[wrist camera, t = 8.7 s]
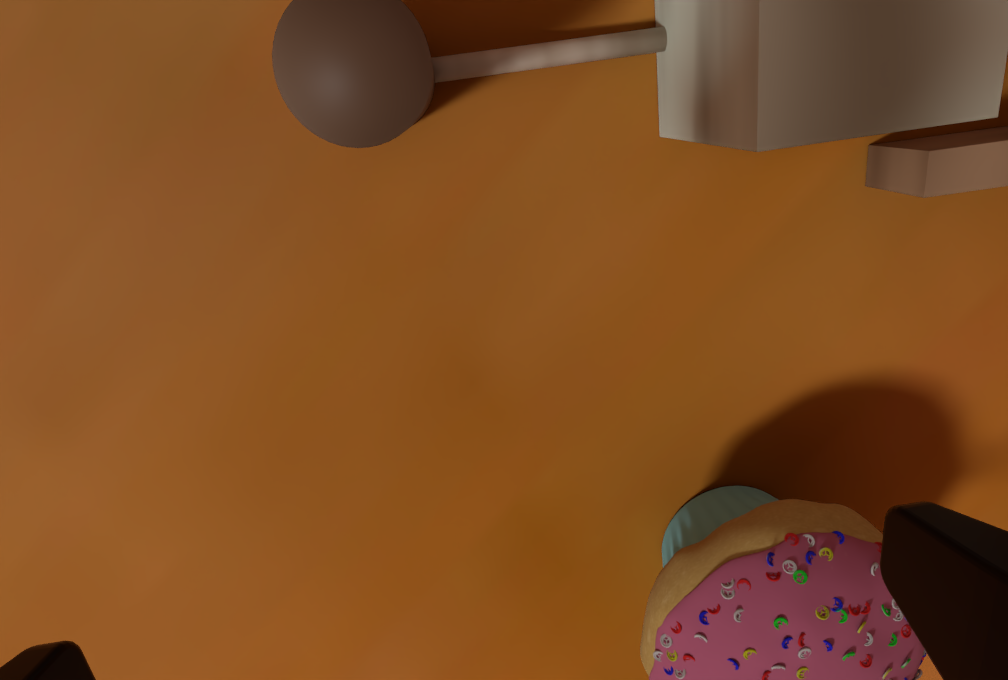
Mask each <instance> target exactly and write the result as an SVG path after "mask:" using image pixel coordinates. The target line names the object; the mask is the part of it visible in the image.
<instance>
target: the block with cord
mask: <svg viewBox="0 0 1008 680" xmlns="http://www.w3.org/2000/svg"><path fill="white" fill-rule="evenodd" d="M655 22H656V28H649V29H642V30H634V31H627V32H619V33H612V34H605V35H597V36H590V37H582V38H575V39H567V40H560V41H553V42H545V43H538V44H530V45H523V46H515V47H508V48H500V49H493V50H486V51H478V52H471V53H463V54H456V55H448V56H441V57H434V58H431V55H430V51H429V46H428V43H427V40H426V37H425V34H424V32H423V30H422V28H421V26H420V24H419V22H418V21H417V19H416V18H415V16H414V15H413V13H412V12H411V11H410V10H409V8H408V7H407V6H406V5H405V4H404V3H403V2H402V1H401V0H293V1H292V2H291V3H290V4H289V6H288V7H287V9H286V10H285V11H284V13H283V15H282V17H281V19H280V21H279V23H278V26H277V29H276V32H275V36H274V41H273V51H272V59H273V69H274V75H275V79H276V82H277V86H278V89H279V91H280V93H281V95H282V98H283V100H284V101H285V103H286V105H287V106H288V108H289V109H290V111H291V112H292V113H293V115H294V116H295V117H296V118H297V119H298V120H299V121H300V122H301V124H302V125H304V126H305V127H306V128H307V129H308V130H310V131H311V132H312V133H314V134H315V135H317V136H319V137H320V138H322V139H324V140H326V141H328V142H331V143H334V144H337V145H341V146H346V147H354V148H364V147H372V146H377V145H380V144H383V143H386V142H388V141H390V140H392V139H394V138H396V137H397V136H399V135H400V134H402V133H403V132H404V131H406V130H407V129H408V128H410V127H411V126H412V125H413V124H415V123H416V122H417V121H418V120H419V119H420V118H421V117H422V116H423V115H424V113H425V112H426V110H427V109H428V107H429V105H430V103H431V100H432V97H433V94H434V88H435V83H437V82H444V81H451V80H459V79H466V78H473V77H481V76H488V75H495V74H503V73H510V72H517V71H525V70H532V69H539V68H547V67H554V66H561V65H569V64H576V63H583V62H591V61H598V60H606V59H613V58H620V57H628V56H635V55H642V54H650V53H657V77H658V104H659V132H660V137H665V138H672V139H678V140H684V141H691V142H697V143H704V144H710V145H716V146H723V147H729V148H735V149H742V150H748V151H754V152H760V151H767V150H774V149H781V148H788V147H795V146H802V145H809V144H815V143H822V142H829V141H836V140H843V139H850V138H857V137H864V136H871V135H878V134H885V133H892V132H899V131H906V130H913V129H920V128H927V127H934V126H941V125H948V124H955V123H962V122H969V121H976V120H983V119H990V118H997V117H998V113H999V106H1000V100H1001V93H1002V86H1003V79H1004V73H1005V66H1006V59H1007V52H1008V0H655Z"/></svg>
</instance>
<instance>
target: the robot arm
mask: <svg viewBox="0 0 1008 680" xmlns="http://www.w3.org/2000/svg"><path fill="white" fill-rule="evenodd" d="M880 571H881V575H882V579H883V581H884V584H885V586H886V588H887V589H888V591H889V593H890V594H891V596H892V598H893V599H894V601H895V602H896V604H897V606H898V607H899V609H900V611H901V612H902V614H903V615H904V617H905V619H906V620H907V622H908V623H909V625H910V627H911V628H912V630H913V632H914V633H915V635H916V636H917V638H918V640H919V641H920V643H921V644H922V646H923V648H924V649H925V651H926V653H927V654H928V656H929V657H930V659H931V661H932V662H933V664H934V665H935V667H936V669H937V670H938V672H939V674H940V675H941V677H942V678H943V680H1008V531H1005V530H1003V529H1000V528H997V527H995V526H992V525H990V524H987V523H984V522H982V521H979V520H976V519H974V518H971V517H969V516H966V515H963V514H961V513H958V512H955V511H953V510H950V509H947V508H945V507H942V506H940V505H937V504H934V503H931V502H915V503H909V504H903V505H897V506H894V507H892V508H890V509H889V510H888V512H887V513H886V516H885V522H884V530H883V539H882V548H881V556H880ZM0 680H96V679H95V677H94V675H93V673H92V671H91V669H90V667H89V665H88V663H87V661H86V659H85V657H84V654H83V652H82V650H81V649H80V647H79V646H78V645H77V644H75V643H74V642H72V641H60V642H54V643H48V644H42V645H36V646H33V647H30V648H28V649H26V650H24V651H23V652H21V653H20V654H18V655H17V656H16V657H14V658H13V659H12V660H10V661H9V662H7V663H6V664H5V665H3V666H2V667H0Z"/></svg>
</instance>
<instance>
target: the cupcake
mask: <svg viewBox="0 0 1008 680" xmlns="http://www.w3.org/2000/svg"><path fill="white" fill-rule="evenodd" d="M882 539H883V534H882V533H881V532H880V531H879V530H878V529H876V528H875V527H874V526H873V525H872V524H871V523H870V522H869V521H867V520H866V519H865V518H864V517H862V516H861V515H860V514H858V513H857V512H856V511H854V510H852V509H851V508H849V507H846V506H844V505H840V504H835V503H818V502H812V501H806V500H800V499H783V500H778V499H776V498H775V497H773V496H771V495H770V494H768V493H766V492H764V491H762V490H759V489H756V488H752V487H747V486H725V487H720V488H716V489H713V490H710V491H707V492H705V493H703V494H701V495H699V496H697V497H695V498H694V499H692V500H691V501H689V502H688V503H687V504H685V505H684V506H683V507H682V508H681V509H680V510H679V511H678V512H677V513H676V515H675V516H674V517H673V519H672V520H671V522H670V523H669V525H668V527H667V529H666V532H665V535H664V538H663V543H662V559H663V569H662V570H661V572H660V573H659V575H658V577H657V579H656V581H655V584H654V586H653V588H652V590H651V592H650V595H649V598H648V602H647V607H646V612H645V617H644V623H643V631H642V638H641V646H640V655H641V660H642V663H643V666H644V668H645V670H646V672H647V674H648V675H649V680H916V679H918V678H920V677H921V675H922V670H920V669H918V668H919V666H920V665H921V663H922V661H923V660H924V657H925V656H926V651H925V649H924V648H923V646H922V644H921V643H920V641H919V640H918V638H917V636H916V635H915V633H914V632H913V630H912V628H911V627H910V625H909V623H908V622H907V620H906V619H905V617H904V615H903V614H902V612H901V611H900V609H899V607H898V606H897V604H896V602H895V601H894V599H893V598H892V596H891V594H890V593H889V591H888V589H887V588H886V586H885V584H884V581H883V579H882V575H881V571H880V556H881V548H882ZM918 673H919V674H918ZM917 674H918V676H917ZM915 676H916V677H915Z"/></svg>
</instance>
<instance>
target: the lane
mask: <svg viewBox="0 0 1008 680" xmlns="http://www.w3.org/2000/svg"><path fill="white" fill-rule="evenodd" d="M865 186H867V187H872V188H877V189H882V190H887V191H893V192H898V193H903V194H908V195H913V196H918V197H923V198H925V197H933V196H940V195H947V194H954V193H961V192H968V191H975V190H982V189H989V188H996V187H1003V186H1008V126H1004V127H997V128H989V129H982V130H975V131H968V132H960V133H953V134H946V135H939V136H931V137H924V138H917V139H910V140H902V141H895V142H888V143H881V144H873V145H869V149H868V161H867V173H866V185H865Z"/></svg>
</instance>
